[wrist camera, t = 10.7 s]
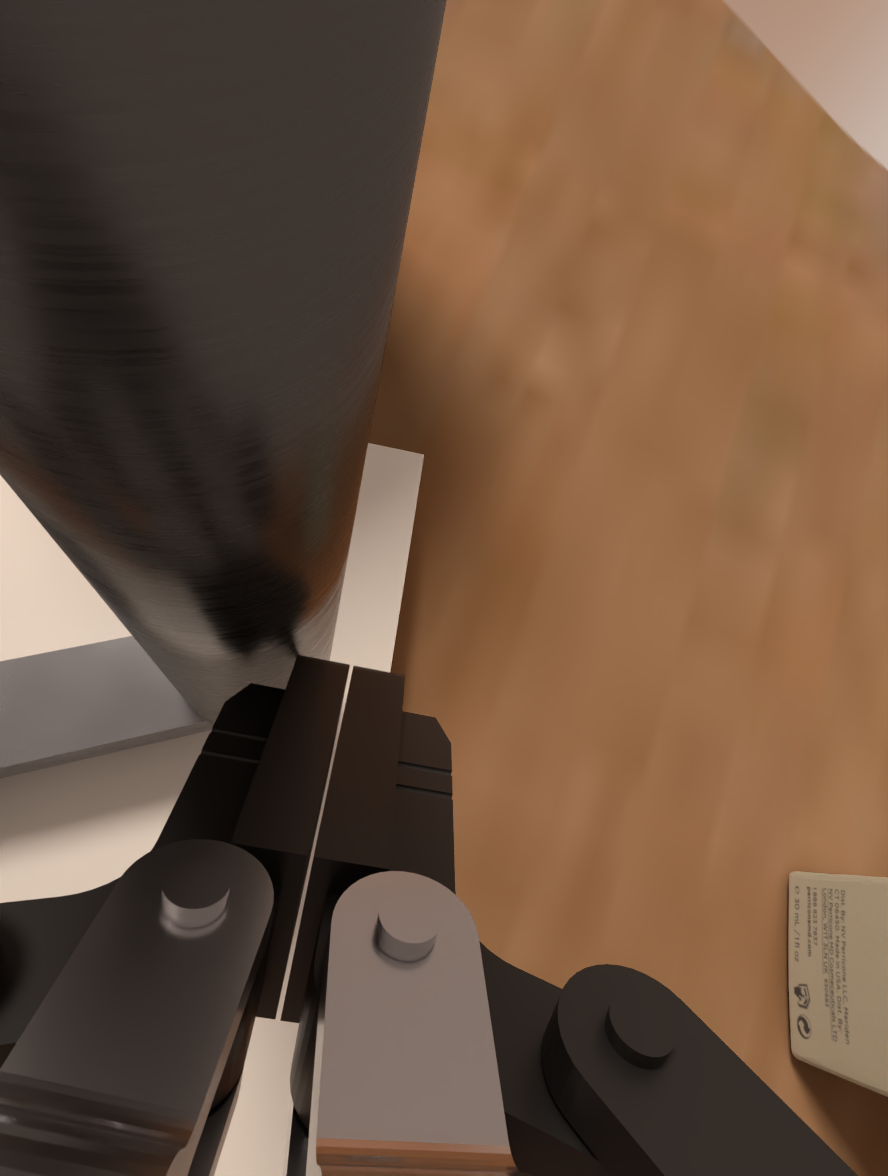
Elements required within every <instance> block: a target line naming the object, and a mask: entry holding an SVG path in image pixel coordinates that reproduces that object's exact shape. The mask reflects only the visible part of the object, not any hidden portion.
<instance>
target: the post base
mask: <svg viewBox="0 0 888 1176" xmlns="http://www.w3.org/2000/svg"><path fill="white" fill-rule="evenodd" d="M423 459H424V454H419V453H414V452H409V451H405V450H400V449H395V448H390V447H386V446H381V445H376V444H371V443H368V447H367V452H366V458H365V464H364V469H363V475H362V480H361V486H360V492H359V497H358V503H357V509H356V514H355V520H354V526H353V531H352V537H351V543H350V548H349V554H348V560H347V565H346V571H345V577H344V582H343V588H342V594H341V599H340V605H339V610H338V616H337V622H336V627H335V633H334V639H333V644H332V650H331V656H330V661H334V662H339V663H344V664H349V665H350V668H349V673H348V678H347V683H346V688H345V693H344V698H343V703H342V708H341V713H340V718H339V723H338V728H337V733H336V737H335V742H334V747H333V752H332V757H331V762H330V767H329V772H328V777H327V782H326V786H325V791H324V796H323V801H322V805H321V810H320V814H319V819H318V824H317V828H316V833H315V838H314V842H313V847H312V852H311V856H310V861H309V866H308V870H307V875H306V879H305V884H304V889H303V893H302V898H301V903H300V907H299V912H298V917H297V921H296V926H295V930H294V935H293V940H292V944H291V949H290V954H289V958H288V963H287V968H286V972H285V977H284V981H283V986H282V991H281V995H280V1000H279V1005H278V1009H277V1014H276V1019H268V1018H261V1017H256V1018H255V1022H254V1026H253V1030H252V1034H251V1038H250V1043H249V1047H248V1051H247V1055H246V1059H245V1064H244V1070H243V1075H242V1081H241V1086H240V1091H239V1096H238V1100H237V1104H236V1107H235V1110H234V1113H233V1116H232V1120H231V1123H230V1126H229V1129H228V1132H227V1136H226V1139H225V1142H224V1145H223V1148H222V1151H221V1155H220V1158H219V1161H218V1164H217V1167H216V1170H215V1174H214V1176H282V1173H283V1163H284V1154H285V1144H286V1134H287V1125H288V1115H289V1107H290V1101H291V1091H290V1073H291V1065H292V1060H293V1054H294V1049H295V1043H296V1038H297V1032H298V1027H299V1023H293V1022H286V1021H280V1020H281V1015H282V1010H283V1005H284V1000H285V995H286V990H287V985H288V980H289V975H290V970H291V965H292V961H293V956H294V951H295V946H296V941H297V936H298V931H299V926H300V921H301V916H302V911H303V906H304V901H305V896H306V891H307V887H308V882H309V877H310V872H311V867H312V862H313V857H314V852H315V847H316V843H317V838H318V833H319V828H320V823H321V819H322V814H323V809H324V804H325V800H326V795H327V790H328V785H329V780H330V776H331V771H332V766H333V761H334V757H335V752H336V747H337V742H338V737H339V733H340V728H341V723H342V718H343V713H344V709H345V704H346V699H347V694H348V690H349V685H350V680H351V675H352V670H353V666H359V667H364V668H369V669H375V670H380V671H385V672H390V670H391V664H392V658H393V651H394V645H395V638H396V632H397V626H398V619H399V613H400V606H401V600H402V594H403V587H404V581H405V574H406V568H407V562H408V555H409V549H410V543H411V536H412V530H413V523H414V517H415V511H416V504H417V498H418V491H419V485H420V479H421V472H422V466H423ZM129 636H132V635H131V634H130V632H129V631H128V630H127V629H126V628H125V626H124V625H123V624H122V623H121V621H120V620H119V619H118V618H117V617H116V615H115V614H114V613H113V612H112V610H111V609H110V608H109V607H108V606H107V604H106V603H105V602H104V601H103V599H102V598H101V597H100V596H99V595H98V593H97V592H96V591H95V590H94V589H93V587H92V586H91V585H90V584H89V582H88V581H87V580H86V579H85V578H84V576H83V575H82V574H81V573H80V571H79V570H78V569H77V568H76V567H75V565H74V564H73V563H72V562H71V560H70V559H69V558H68V557H67V556H66V554H65V553H64V552H63V551H62V549H61V548H60V547H59V546H58V545H57V543H56V542H55V541H54V540H53V539H52V537H51V536H50V535H49V534H48V532H47V531H46V530H45V529H44V528H43V526H42V525H41V524H40V523H39V521H38V520H37V519H36V518H35V517H34V515H33V514H32V513H31V512H30V510H29V509H28V508H27V507H26V506H25V504H24V503H23V502H22V501H21V499H20V498H19V497H18V496H17V495H16V493H15V492H14V491H13V490H12V489H11V487H10V486H9V485H8V484H7V482H6V481H5V480H4V479H3V478H2V476H1V475H0V661H5V660H10V659H15V658H20V657H25V656H31V655H36V654H41V653H46V652H51V651H56V650H62V649H67V648H72V647H77V646H82V645H87V644H93V643H98V642H103V641H108V640H113V639H118V638H124V637H129ZM211 731H212V730H209V731H205V732H200V733H196V734H192V735H187V736H183V737H179V738H174V739H170V740H166V741H161V742H157V743H153V744H148V745H144V746H140V747H135V748H131V749H127V750H122V751H118V752H114V753H109V754H105V755H101V756H96V757H92V758H88V759H83V760H79V761H75V762H70V763H66V764H61V765H57V766H53V767H48V768H44V769H40V770H35V771H31V772H27V773H22V774H18V775H14V776H9V777H5V778H1V779H0V903H5V902H14V901H23V900H32V899H42V898H51V897H60V896H66V895H72V894H78V893H81V892H85V891H89V890H92V889H95V888H98V887H100V886H103V885H105V884H108V883H110V882H112V881H114V880H116V879H117V878H119V877H121V876H122V875H123V874H124V872H125V871H126V870H127V869H128V868H129V867H130V866H131V865H132V864H133V863H134V862H135V861H137V860H138V859H139V858H141V857H142V856H144V855H145V854H147V853H149V852H150V851H151V850H152V848H153V847H154V845H155V843H156V842H157V840H158V838H159V836H160V834H161V832H162V830H163V828H164V826H165V824H166V822H167V820H168V817H169V815H170V813H171V811H172V809H173V807H174V805H175V803H176V801H177V799H178V797H179V795H180V793H181V791H182V789H183V787H184V785H185V783H186V781H187V778H188V776H189V774H190V772H191V770H192V768H193V766H194V764H195V762H196V760H197V758H198V756H199V755H200V754H201V751H202V748H203V746H204V744H205V741H206V739H207V737H208V735H209V733H211Z"/></svg>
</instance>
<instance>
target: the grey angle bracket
mask: <svg viewBox="0 0 888 1176" xmlns="http://www.w3.org/2000/svg"><path fill="white" fill-rule="evenodd" d="M445 6H446V0H0V475H1V476H2V478H3V479H4V480H5V481H6V482H7V484H8V485H9V486H10V487H11V489H12V490H13V491H14V492H15V493H16V495H17V496H18V497H19V498H20V499H21V501H22V502H23V503H24V504H25V506H26V507H27V508H28V509H29V510H30V512H31V513H32V514H33V515H34V517H35V518H36V519H37V520H38V521H39V523H40V524H41V525H42V526H43V528H44V529H45V530H46V531H47V532H48V534H49V535H50V536H51V537H52V539H53V540H54V541H55V542H56V543H57V545H58V546H59V547H60V548H61V549H62V551H63V552H64V553H65V554H66V556H67V557H68V558H69V559H70V560H71V562H72V563H73V564H74V565H75V567H76V568H77V569H78V570H79V571H80V573H81V574H82V575H83V576H84V578H85V579H86V580H87V581H88V582H89V584H90V585H91V586H92V587H93V589H94V590H95V591H96V592H97V593H98V595H99V596H100V597H101V598H102V599H103V601H104V602H105V603H106V604H107V606H108V607H109V608H110V609H111V610H112V612H113V613H114V614H115V615H116V617H117V618H118V619H119V620H120V621H121V623H122V624H123V625H124V626H125V628H126V629H127V630H128V631H129V632H130V634H131V635H132V636H129V637H124V638H118V639H113V640H108V641H103V642H98V643H93V644H87V645H82V646H77V647H72V648H67V649H62V650H56V651H51V652H46V653H41V654H36V655H31V656H25V657H20V658H15V659H10V660H5V661H0V779H1V778H5V777H9V776H14V775H18V774H22V773H27V772H31V771H35V770H40V769H44V768H48V767H53V766H57V765H61V764H66V763H70V762H75V761H79V760H83V759H88V758H92V757H96V756H101V755H105V754H109V753H114V752H118V751H122V750H127V749H131V748H135V747H140V746H144V745H148V744H153V743H157V742H161V741H166V740H170V739H174V738H179V737H183V736H187V735H192V734H196V733H200V732H205V731H209V730H212V727H213V725H214V723H215V721H216V719H217V717H218V715H219V713H220V711H221V709H222V707H223V705H224V702H225V701H227V700H228V699H229V698H231V697H232V696H234V695H235V694H236V693H238V692H239V691H241V690H242V689H243V688H245V687H246V686H248V685H249V684H250V683H253V684H259V685H264V686H270V687H275V688H280V689H286V686H287V683H288V681H289V678H290V675H291V672H292V670H293V667H294V664H295V661H296V658H297V656H298V655H303V656H308V657H313V658H318V659H323V660H329V661H330V656H331V650H332V644H333V639H334V633H335V627H336V622H337V616H338V610H339V605H340V599H341V594H342V588H343V582H344V577H345V571H346V565H347V560H348V554H349V548H350V543H351V537H352V531H353V526H354V520H355V514H356V509H357V503H358V497H359V492H360V486H361V480H362V475H363V469H364V464H365V458H366V452H367V447H368V441H369V435H370V430H371V424H372V418H373V413H374V407H375V401H376V396H377V390H378V384H379V379H380V373H381V367H382V362H383V356H384V351H385V345H386V339H387V334H388V328H389V322H390V317H391V311H392V305H393V300H394V294H395V288H396V283H397V277H398V271H399V266H400V260H401V254H402V249H403V243H404V237H405V232H406V226H407V221H408V215H409V209H410V204H411V198H412V192H413V187H414V181H415V175H416V170H417V164H418V158H419V153H420V147H421V141H422V136H423V130H424V124H425V119H426V113H427V108H428V102H429V96H430V91H431V85H432V79H433V74H434V68H435V62H436V57H437V51H438V45H439V40H440V34H441V28H442V23H443V17H444V11H445Z"/></svg>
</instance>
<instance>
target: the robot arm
mask: <svg viewBox="0 0 888 1176" xmlns="http://www.w3.org/2000/svg"><path fill="white" fill-rule="evenodd" d="M349 668H350V665H349V664H344V663H339V662H334V661H329V660H323V659H318V658H313V657H308V656H303V655H298V656H297V658H296V661H295V664H294V667H293V670H292V672H291V675H290V678H289V681H288V683H287V686H286V689H280V688H275V687H270V686H264V685H259V684H253V683H250V684H249V685H248V686H246V687H245V688H243V689H242V690H241V691H239V692H238V693H236V694H235V695H234V696H232V697H231V698H229V699H228V700H227V701H225V702H224V705H223V707H222V709H221V711H220V713H219V715H218V717H217V719H216V721H215V723H214V725H213V727H212V731H211V733H209V735H208V737H207V739H206V741H205V744H204V746H203V748H202V751H201V754H200V755H199V756H198V758H197V760H196V762H195V764H194V766H193V768H192V770H191V772H190V774H189V776H188V778H187V781H186V783H185V785H184V787H183V789H182V791H181V793H180V795H179V797H178V799H177V801H176V803H175V805H174V807H173V809H172V811H171V813H170V815H169V817H168V820H167V822H166V824H165V826H164V828H163V830H162V832H161V834H160V836H159V838H158V840H157V842H156V843H155V845H154V847H153V848H152V850H151V851H150V852H149V853H147V854H145V855H144V856H142V857H141V858H139V859H138V860H137V861H135V862H134V863H133V864H132V865H131V866H130V867H129V868H128V869H127V870H126V871H125V872H124V874H123V875H122V876H121V877H119V878H117V879H116V880H114V881H112V882H110V883H108V884H105V885H103V886H100V887H98V888H95V889H92V890H89V891H85V892H81V893H78V894H72V895H66V896H60V897H51V898H42V899H32V900H23V901H14V902H5V903H0V1176H214V1174H215V1170H216V1167H217V1164H218V1161H219V1158H220V1155H221V1151H222V1148H223V1145H224V1142H225V1139H226V1136H227V1132H228V1129H229V1126H230V1123H231V1120H232V1116H233V1113H234V1110H235V1107H236V1104H237V1100H238V1096H239V1091H240V1086H241V1081H242V1075H243V1070H244V1064H245V1059H246V1055H247V1051H248V1047H249V1043H250V1038H251V1034H252V1030H253V1026H254V1022H255V1018H256V1017H261V1018H268V1019H276V1014H277V1009H278V1005H279V1000H280V995H281V991H282V986H283V981H284V977H285V972H286V968H287V963H288V958H289V954H290V949H291V944H292V940H293V935H294V930H295V926H296V921H297V917H298V912H299V907H300V903H301V898H302V893H303V889H304V884H305V879H306V875H307V870H308V866H309V861H310V856H311V852H312V847H313V842H314V838H315V833H316V828H317V824H318V819H319V814H320V810H321V805H322V801H323V796H324V791H325V786H326V782H327V777H328V772H329V767H330V762H331V757H332V752H333V747H334V742H335V737H336V733H337V728H338V723H339V718H340V713H341V708H342V703H343V698H344V693H345V688H346V683H347V678H348V673H349ZM404 679H405V676H404V675H401V674H396V673H390V672H385V671H380V670H375V669H369V668H364V667H359V666H353V670H352V675H351V680H350V685H349V690H348V694H347V699H346V704H345V709H344V713H343V718H342V723H341V728H340V733H339V737H338V742H337V747H336V752H335V757H334V761H333V766H332V771H331V776H330V780H329V785H328V790H327V795H326V800H325V804H324V809H323V814H322V819H321V823H320V828H319V833H318V838H317V843H316V847H315V852H314V857H313V862H312V867H311V872H310V877H309V882H308V887H307V891H306V896H305V901H304V906H303V911H302V916H301V921H300V926H299V931H298V936H297V941H296V946H295V951H294V956H293V961H292V965H291V970H290V975H289V980H288V985H287V990H286V995H285V1000H284V1005H283V1010H282V1015H281V1020H280V1021H286V1022H293V1023H299V1027H298V1032H297V1038H296V1043H295V1049H294V1054H293V1060H292V1065H291V1073H290V1091H291V1101H290V1107H289V1115H288V1125H287V1134H286V1144H285V1154H284V1163H283V1173H282V1176H858V1175H857V1174H856V1173H855V1172H854V1171H853V1170H852V1169H851V1168H850V1167H849V1166H848V1165H847V1164H846V1163H845V1162H844V1161H843V1160H842V1159H841V1158H840V1157H839V1156H838V1155H837V1154H836V1153H835V1152H834V1151H833V1150H832V1149H831V1148H830V1147H829V1146H828V1145H827V1144H826V1143H825V1142H824V1141H823V1140H822V1139H821V1138H820V1137H819V1136H818V1135H816V1134H815V1133H814V1132H813V1131H812V1130H811V1129H810V1128H809V1127H808V1126H807V1125H806V1124H805V1123H804V1122H803V1121H802V1120H801V1119H800V1118H799V1117H798V1116H797V1115H796V1114H795V1113H794V1112H793V1111H792V1110H791V1109H790V1108H789V1107H788V1106H787V1105H786V1104H785V1103H784V1102H783V1101H782V1100H781V1099H780V1098H779V1097H778V1096H777V1095H776V1094H775V1093H774V1092H773V1091H772V1090H771V1089H770V1088H769V1087H768V1086H767V1085H766V1084H765V1083H764V1082H763V1081H762V1080H761V1079H760V1078H759V1077H758V1076H757V1075H756V1074H755V1073H754V1072H753V1071H752V1070H751V1069H750V1068H749V1067H748V1066H747V1065H746V1064H745V1063H744V1062H743V1061H742V1060H741V1059H740V1058H739V1057H738V1056H737V1055H736V1054H735V1053H734V1052H733V1051H732V1050H731V1049H730V1048H729V1047H728V1046H727V1045H726V1044H725V1043H724V1042H723V1041H722V1040H721V1039H720V1038H719V1037H718V1036H717V1035H716V1034H715V1033H714V1032H713V1031H712V1030H711V1029H710V1028H709V1027H708V1026H707V1025H706V1024H705V1023H704V1022H703V1021H702V1020H701V1019H700V1018H699V1017H698V1016H697V1015H696V1014H695V1013H694V1012H693V1011H692V1010H691V1009H690V1008H689V1007H688V1006H687V1005H686V1004H685V1003H684V1002H683V1001H682V1000H681V999H679V998H678V997H677V996H676V995H675V994H674V993H673V992H672V991H670V990H669V989H668V988H667V987H665V986H664V985H662V984H661V983H660V982H658V981H657V980H655V979H653V978H651V977H649V976H648V975H646V974H644V973H641V972H639V971H636V970H634V969H631V968H627V967H623V966H619V965H609V964H605V965H595V966H591V967H587V968H585V969H583V970H581V971H579V972H577V973H576V974H575V975H574V976H572V977H571V978H570V979H569V980H568V982H567V983H566V985H565V986H564V988H563V989H561V988H559V987H557V986H554V985H552V984H550V983H548V982H546V981H544V980H542V979H540V978H537V977H535V976H533V975H531V974H529V973H527V972H525V971H523V970H520V969H518V968H516V967H514V966H512V965H511V964H509V963H507V962H505V961H503V960H502V959H500V958H499V957H498V956H496V955H495V954H493V953H492V952H491V951H490V950H488V949H487V948H486V947H485V946H484V945H483V944H482V943H481V942H480V941H479V936H478V932H477V928H476V924H475V922H474V920H473V917H472V915H471V914H470V912H469V910H468V909H467V907H466V906H465V905H464V903H463V902H462V901H461V900H460V899H459V898H458V897H457V896H456V893H455V869H454V833H453V800H452V776H451V772H452V761H451V743H450V741H449V739H448V738H447V736H446V734H445V733H444V731H443V729H442V728H441V726H440V724H439V723H438V721H437V719H436V718H435V717H429V716H424V715H418V714H413V713H408V712H402V705H403V692H404Z"/></svg>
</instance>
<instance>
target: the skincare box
mask: <svg viewBox="0 0 888 1176" xmlns="http://www.w3.org/2000/svg"><path fill="white" fill-rule="evenodd" d="M788 963H789V966H788V974H789V1014H790V1029H791V1050H792V1054H793V1055H794V1057H795V1058H797V1059H798V1060H800V1061H803V1062H805V1063H807V1064H810V1065H812V1066H814V1067H817V1068H819V1069H821V1070H824V1071H826V1072H829V1073H831V1074H833V1075H836V1076H838V1077H841V1078H843V1079H846V1080H848V1081H850V1082H853V1083H855V1084H857V1085H860V1086H862V1087H865V1088H867V1089H870V1090H872V1091H874V1092H877V1093H879V1094H882V1095H884V1096H886V1097H888V878H887V877H871V876H858V875H841V874H824V873H811V872H800V871H796V872H791V873H790V875H789V923H788Z"/></svg>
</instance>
